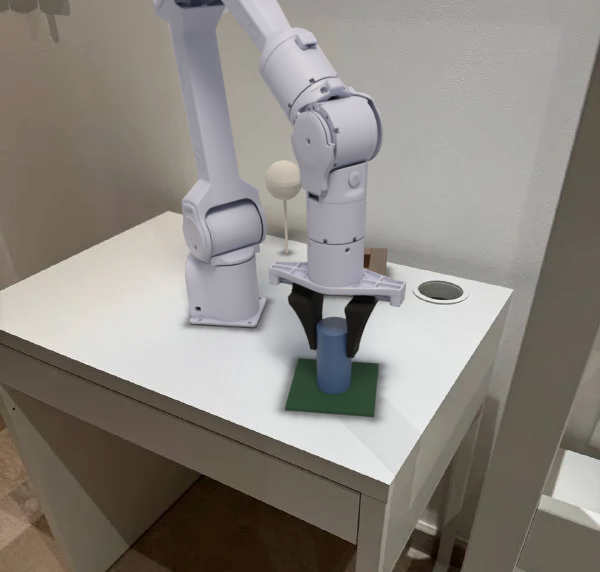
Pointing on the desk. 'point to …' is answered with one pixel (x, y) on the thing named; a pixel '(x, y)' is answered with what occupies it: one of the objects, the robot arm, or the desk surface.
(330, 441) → the desk surface
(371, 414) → the mat
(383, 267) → the holder
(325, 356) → the peg
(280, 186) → the lollipop
